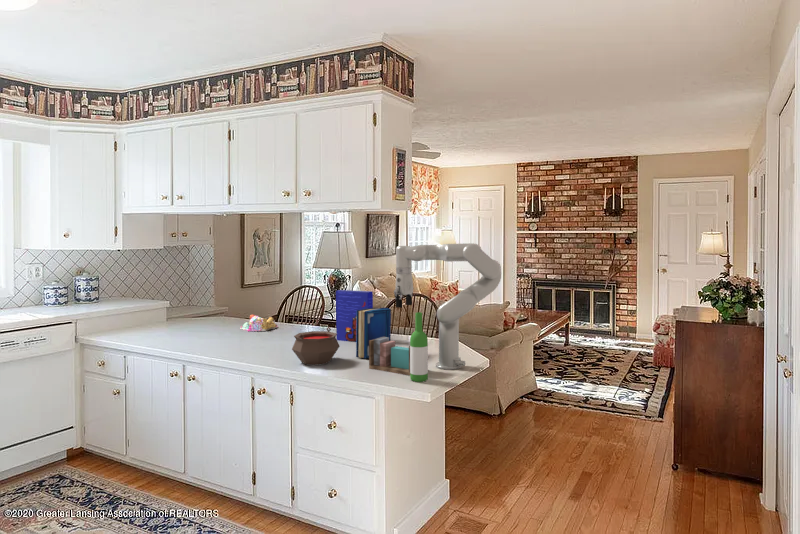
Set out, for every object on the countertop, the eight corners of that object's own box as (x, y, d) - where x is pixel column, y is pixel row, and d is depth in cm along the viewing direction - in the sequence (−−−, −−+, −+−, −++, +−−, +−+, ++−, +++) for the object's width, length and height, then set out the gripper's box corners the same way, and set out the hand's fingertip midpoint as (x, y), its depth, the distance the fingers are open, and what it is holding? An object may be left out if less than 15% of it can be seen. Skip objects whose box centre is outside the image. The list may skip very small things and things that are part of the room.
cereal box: (373, 341, 335) (372, 291, 332) (368, 343, 329) (367, 292, 327) (341, 338, 344) (341, 289, 342) (336, 340, 339) (335, 290, 337)
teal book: (415, 367, 265) (415, 348, 264) (410, 369, 261) (410, 350, 261) (396, 364, 271) (396, 346, 271) (391, 366, 267) (390, 347, 267)
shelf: (425, 370, 266) (424, 341, 265) (411, 375, 257) (410, 345, 256) (384, 363, 280) (383, 335, 279) (369, 368, 270) (368, 339, 269)
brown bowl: (312, 354, 301) (312, 324, 300) (349, 359, 289) (349, 327, 288) (282, 363, 281) (281, 331, 279) (320, 369, 268) (319, 335, 267)
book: (382, 350, 309) (382, 305, 307) (392, 352, 304) (392, 306, 303) (355, 357, 292) (354, 310, 290) (365, 359, 288) (365, 311, 286)
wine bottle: (429, 378, 252) (429, 311, 250) (426, 383, 244) (426, 314, 242) (412, 377, 253) (411, 311, 251) (408, 382, 246) (408, 313, 244)
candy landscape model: (283, 326, 389) (282, 313, 388) (268, 332, 366) (267, 318, 365) (249, 325, 394) (249, 312, 393) (232, 331, 371) (232, 317, 370)
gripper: (401, 272, 265) (401, 309, 266) (419, 270, 280) (419, 304, 281) (387, 272, 268) (388, 307, 270) (405, 269, 283) (406, 303, 284)
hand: (404, 306), depth 275 cm, fingers open, 9 cm apart
